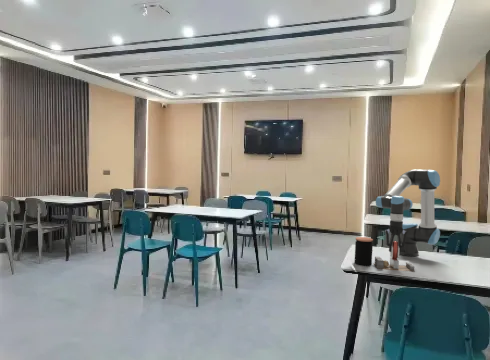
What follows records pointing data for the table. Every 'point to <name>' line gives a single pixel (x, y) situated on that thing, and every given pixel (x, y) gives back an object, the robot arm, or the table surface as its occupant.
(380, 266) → the board
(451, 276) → the table surface
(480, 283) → the table surface
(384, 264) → the nut
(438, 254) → the table surface
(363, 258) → the coffee jar
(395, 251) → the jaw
